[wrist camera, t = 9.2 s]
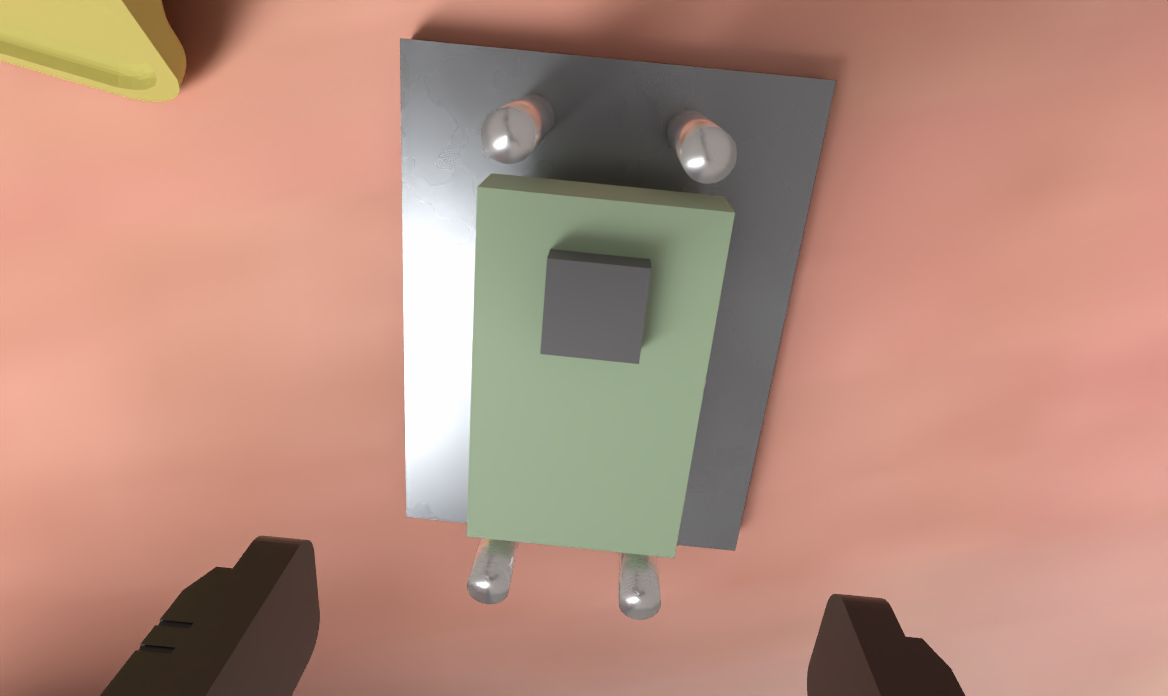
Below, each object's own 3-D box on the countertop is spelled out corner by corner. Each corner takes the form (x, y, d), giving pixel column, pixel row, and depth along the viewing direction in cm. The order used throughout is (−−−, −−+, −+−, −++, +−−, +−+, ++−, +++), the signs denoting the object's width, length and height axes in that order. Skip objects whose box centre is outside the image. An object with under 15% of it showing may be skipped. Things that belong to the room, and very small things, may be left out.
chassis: (410, 39, 20) (330, 34, 15) (825, 79, 20) (904, 90, 15) (413, 500, 26) (359, 619, 21) (730, 533, 26) (760, 660, 21)
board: (491, 173, 18) (470, 193, 16) (723, 196, 18) (740, 220, 15) (479, 495, 22) (461, 555, 19) (669, 515, 22) (676, 577, 19)
